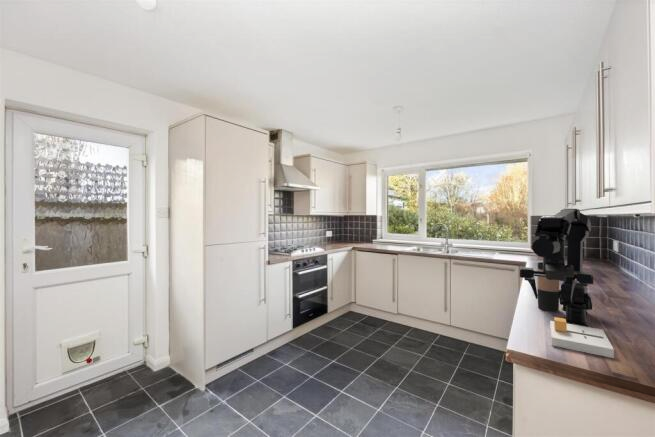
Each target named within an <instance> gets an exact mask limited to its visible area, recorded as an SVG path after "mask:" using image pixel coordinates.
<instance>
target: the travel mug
mask: <svg viewBox="0 0 655 437" xmlns="http://www.w3.org/2000/svg"><path fill="white" fill-rule="evenodd" d="M537 271H543V261H542V262H538V263H537ZM536 279H537V280H536V282H537V284H536V289H537V295H538V299H537V308H538V309H539V310H541V309H542V310H541V311H545V312H552V313H553V312H554V313H555V312H559V308H560V300H559V290H560V280H548V279H546V277H540V276H537V278H536Z"/></svg>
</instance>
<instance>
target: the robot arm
mask: <svg viewBox="0 0 655 437" xmlns="http://www.w3.org/2000/svg"><path fill="white" fill-rule="evenodd" d="M591 230H592V222H591V220H590V217H588V216H587V215H586V214H584V213H582V212H581V210H580V209H579V208H563V209H561V210H560V211H559V212H557V213H555V214H554V215H545V216H541V218H540V219H539V220H538V222H537V225H536V230H535V234H534V236H535V237H539V238H538V239H535V240H534V241H533V242H532V245H531V250H532V252H533V253H534V254H535V255H536V256H539V257H541V258H542V262H543V271H538V270H534V267H525V266H524V267H523V266H522V267H520V268H519V278H523V279H524V281H528V283H529V285H530V287H531V290H532V292H533V294H534V296H535V299H536V300H538V291H537V289H538V288H537V284H536V278H535V277H538V276H540V277H546V279H548V280H559V282H562V284H561V285H560V288H559V306H560V305H561V306H563V305H566V311H565V316H564V317H563V319H566V322H567V324H573V325H579V326H585V327H589V325H588V323H587V322H588V321H587V320H586V314H585V309H586V310H587V311H589V310H590V311H591V310H593V309H594V307H593V300H592V297H591V295H590V293H589V292H588V290H589V289H588V286H589V285H593V284H594V276H593V274H591V273H590V272H589V271H583V259H584V258H583V257H584V252H583V251H584V242H585V241H586V239H588V237H589V236H590V232H591ZM566 241H567V245H566ZM566 246H567V250H566ZM566 251H567V253H566ZM566 255H567V256H566ZM566 279H567V280H566ZM565 280H566V281H565ZM563 281H565V282H564V283H563ZM586 286H587V287H586ZM585 304H586V305H585Z"/></svg>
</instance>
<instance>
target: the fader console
mask: <svg viewBox="0 0 655 437" xmlns="http://www.w3.org/2000/svg"><path fill="white" fill-rule="evenodd" d="M549 331H550V340H551V346H554V347H559V348H563V349H568V350H573V351H579V352H583V353H587V354H592V355H597V356H600V357H601V356H602V357H606V358H612V359H615V349H614V347H613V346H612V343H611V342H610V340H609V339H608V336H607V334H606V333H605V331H604V329H603V328H602V329H601V328H596V327H590V326H582V325H576V324H570V323H567V332H563V331H557V330H555V328H554V320H550V321H549Z"/></svg>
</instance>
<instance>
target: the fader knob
mask: <svg viewBox="0 0 655 437" xmlns="http://www.w3.org/2000/svg"><path fill="white" fill-rule="evenodd" d="M553 318H554V320H553V321H554V328H555V330H557V331H563V332H567V324H568V323H567V322H566V319H564V317H563V318H562V317H558V316H554V317H553Z"/></svg>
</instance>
